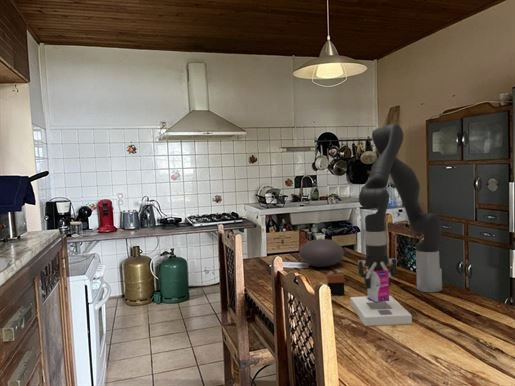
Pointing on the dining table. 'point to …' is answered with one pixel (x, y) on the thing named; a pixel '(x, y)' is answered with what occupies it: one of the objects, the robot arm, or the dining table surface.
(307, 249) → the smooth stone
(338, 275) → the battery
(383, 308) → the light grey flat block
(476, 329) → the dining table surface
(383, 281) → the supplement box
